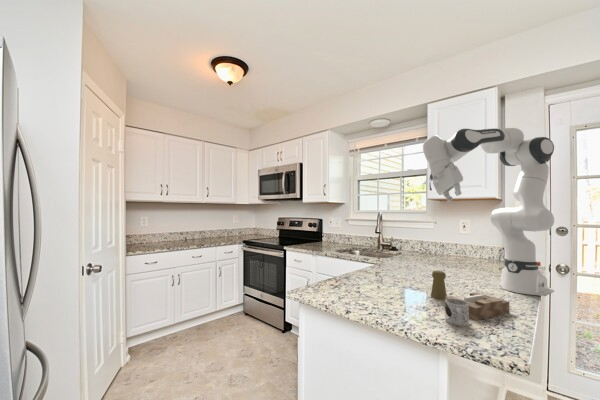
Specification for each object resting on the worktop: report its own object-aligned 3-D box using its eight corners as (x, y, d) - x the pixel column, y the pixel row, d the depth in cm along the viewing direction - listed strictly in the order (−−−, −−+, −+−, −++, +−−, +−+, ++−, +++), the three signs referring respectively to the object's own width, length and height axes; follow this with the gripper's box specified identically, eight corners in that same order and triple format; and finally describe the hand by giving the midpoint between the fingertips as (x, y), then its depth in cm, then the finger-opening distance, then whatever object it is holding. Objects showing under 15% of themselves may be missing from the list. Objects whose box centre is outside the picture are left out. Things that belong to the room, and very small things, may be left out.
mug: (444, 317, 92) (444, 297, 92) (466, 320, 90) (466, 300, 90) (447, 328, 83) (447, 306, 83) (473, 332, 80) (472, 310, 81)
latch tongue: (481, 306, 102) (480, 294, 102) (483, 307, 101) (483, 295, 101) (464, 309, 98) (464, 296, 98) (467, 310, 97) (467, 297, 97)
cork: (449, 300, 110) (449, 273, 110) (433, 298, 111) (433, 272, 112) (444, 295, 116) (444, 269, 116) (429, 294, 117) (429, 269, 118)
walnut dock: (476, 302, 108) (476, 289, 108) (509, 313, 97) (509, 299, 97) (444, 307, 101) (444, 294, 101) (476, 320, 90) (476, 305, 90)
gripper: (459, 158, 110) (473, 188, 106) (441, 175, 129) (453, 202, 125) (443, 162, 111) (457, 193, 106) (428, 179, 130) (439, 205, 126)
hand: (454, 198), depth 116 cm, fingers open, 8 cm apart
